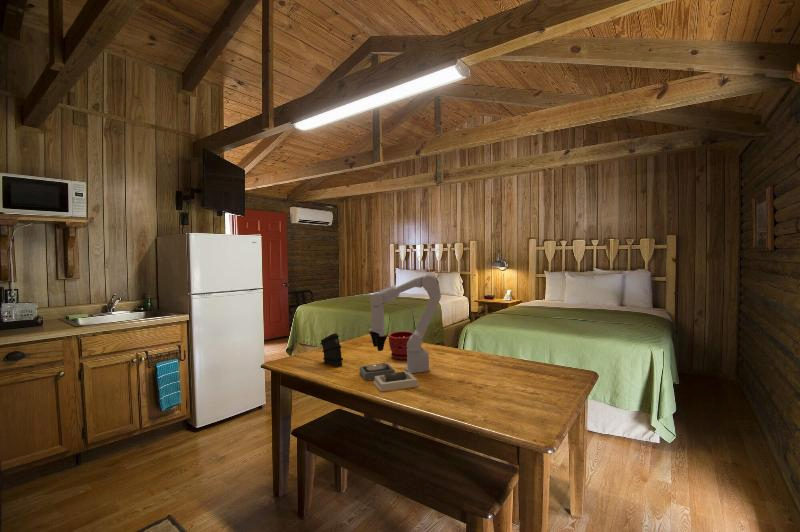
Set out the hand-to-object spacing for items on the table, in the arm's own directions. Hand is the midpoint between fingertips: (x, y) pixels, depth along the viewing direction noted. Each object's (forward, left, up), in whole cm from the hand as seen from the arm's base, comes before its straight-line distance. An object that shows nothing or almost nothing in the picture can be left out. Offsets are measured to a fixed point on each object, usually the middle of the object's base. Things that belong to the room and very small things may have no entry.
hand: (378, 348), depth 176 cm
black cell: (-1, +22, -9) cm, 24 cm away
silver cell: (+3, +7, -8) cm, 11 cm away
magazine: (+19, -16, -10) cm, 27 cm away
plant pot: (-16, -13, -10) cm, 23 cm away
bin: (+3, +8, -9) cm, 13 cm away
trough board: (-1, +22, -9) cm, 24 cm away
